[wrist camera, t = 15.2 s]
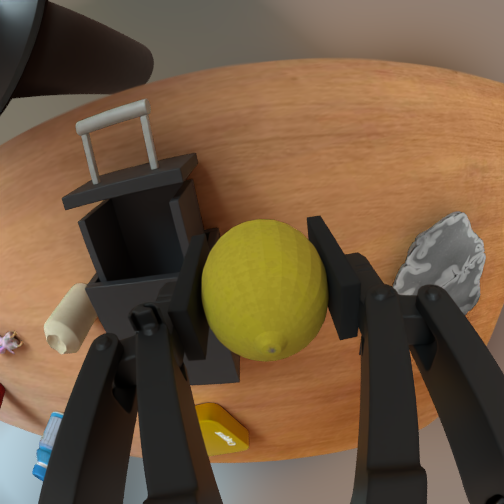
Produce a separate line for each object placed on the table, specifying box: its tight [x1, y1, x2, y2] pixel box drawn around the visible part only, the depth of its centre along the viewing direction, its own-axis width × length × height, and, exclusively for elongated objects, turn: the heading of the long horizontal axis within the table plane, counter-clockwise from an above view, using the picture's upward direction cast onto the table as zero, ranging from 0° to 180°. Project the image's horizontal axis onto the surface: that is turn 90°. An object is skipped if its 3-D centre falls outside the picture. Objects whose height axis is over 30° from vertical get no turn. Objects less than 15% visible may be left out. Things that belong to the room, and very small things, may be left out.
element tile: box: [195, 403, 249, 456], centre depth 51 cm, size 15×15×5 cm
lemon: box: [201, 219, 329, 361], centre depth 13 cm, size 6×6×8 cm
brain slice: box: [393, 212, 486, 315], centre depth 36 cm, size 20×17×3 cm
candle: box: [44, 283, 97, 354], centre depth 34 cm, size 6×6×10 cm
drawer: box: [62, 99, 205, 282], centre depth 27 cm, size 20×12×8 cm, turn 8°
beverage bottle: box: [32, 412, 64, 481], centre depth 47 cm, size 8×8×20 cm
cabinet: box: [85, 228, 240, 385], centre depth 33 cm, size 15×13×10 cm
